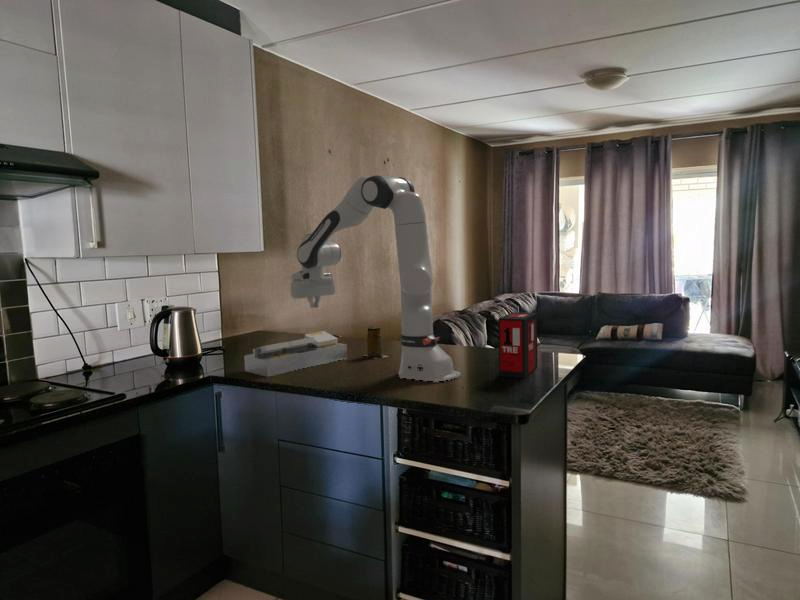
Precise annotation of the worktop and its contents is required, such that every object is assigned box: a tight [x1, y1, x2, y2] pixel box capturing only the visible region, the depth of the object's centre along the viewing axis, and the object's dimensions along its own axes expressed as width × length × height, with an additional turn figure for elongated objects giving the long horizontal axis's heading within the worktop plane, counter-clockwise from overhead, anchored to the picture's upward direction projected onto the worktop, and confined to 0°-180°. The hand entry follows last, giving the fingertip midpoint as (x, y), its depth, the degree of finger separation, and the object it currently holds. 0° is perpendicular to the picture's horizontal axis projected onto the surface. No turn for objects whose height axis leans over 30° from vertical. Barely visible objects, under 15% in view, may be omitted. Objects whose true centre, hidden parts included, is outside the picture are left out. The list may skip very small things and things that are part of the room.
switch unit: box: [243, 334, 348, 378], centre depth 217 cm, size 15×38×9 cm, turn 137°
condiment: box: [365, 326, 389, 360], centre depth 228 cm, size 7×8×12 cm
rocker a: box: [303, 330, 339, 347], centre depth 225 cm, size 9×10×2 cm
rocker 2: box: [287, 337, 314, 348], centre depth 216 cm, size 9×10×2 cm
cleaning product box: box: [498, 311, 538, 379], centre depth 194 cm, size 16×9×20 cm, turn 152°
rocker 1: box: [252, 341, 289, 354], centre depth 208 cm, size 9×10×2 cm
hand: (314, 307), depth 226 cm, fingers closed
